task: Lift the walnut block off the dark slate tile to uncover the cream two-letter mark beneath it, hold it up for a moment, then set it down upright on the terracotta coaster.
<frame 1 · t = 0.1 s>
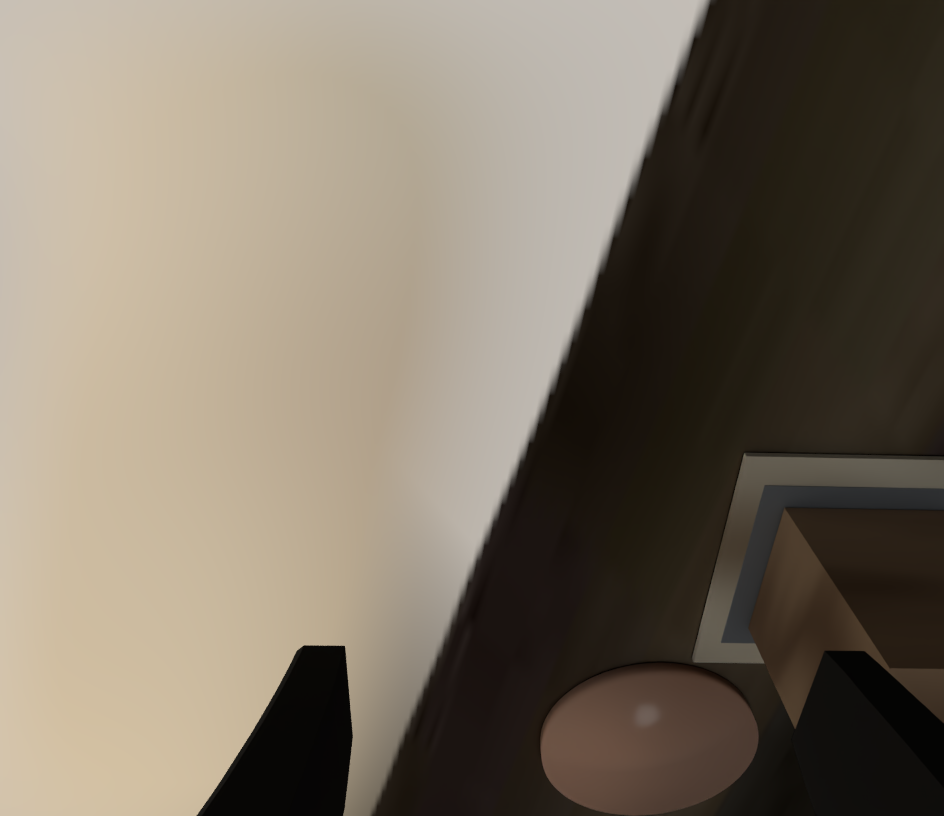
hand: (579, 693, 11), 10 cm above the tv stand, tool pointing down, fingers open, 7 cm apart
walnut block: (842, 572, 23), resting on code board
coaster: (645, 736, 27), on the tv stand
code board: (838, 566, 23), on the tv stand
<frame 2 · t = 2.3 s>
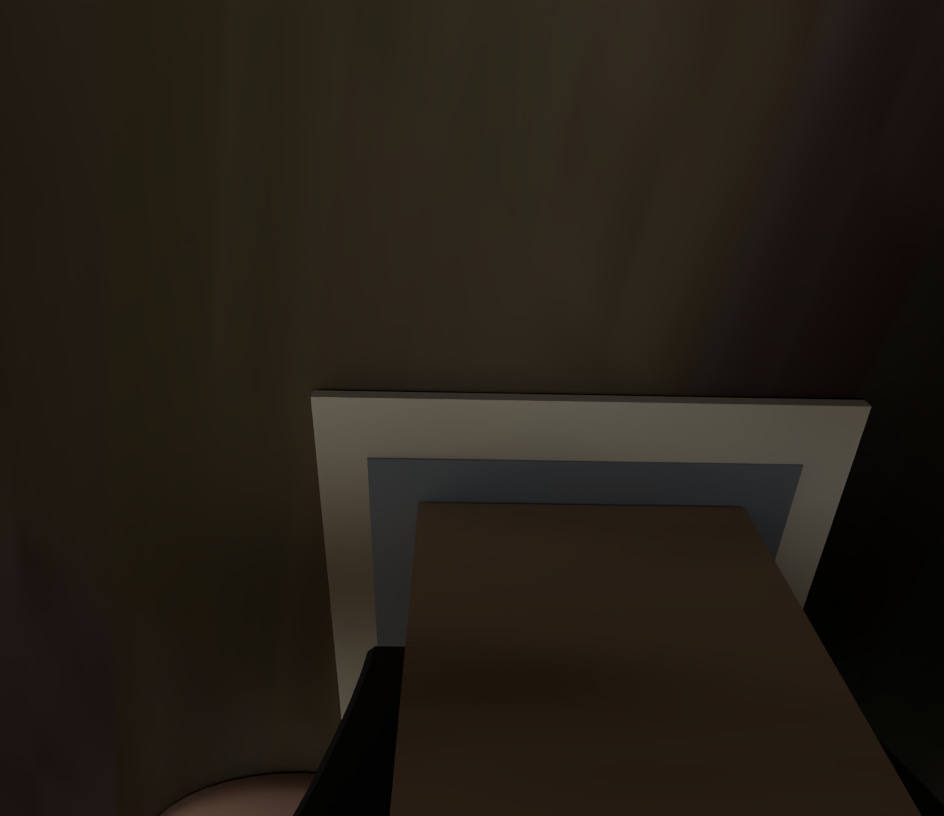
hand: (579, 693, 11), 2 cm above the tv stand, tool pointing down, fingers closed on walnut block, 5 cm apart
walnut block: (567, 624, 12), resting on code board, touching gripper
code board: (565, 611, 12), on the tv stand
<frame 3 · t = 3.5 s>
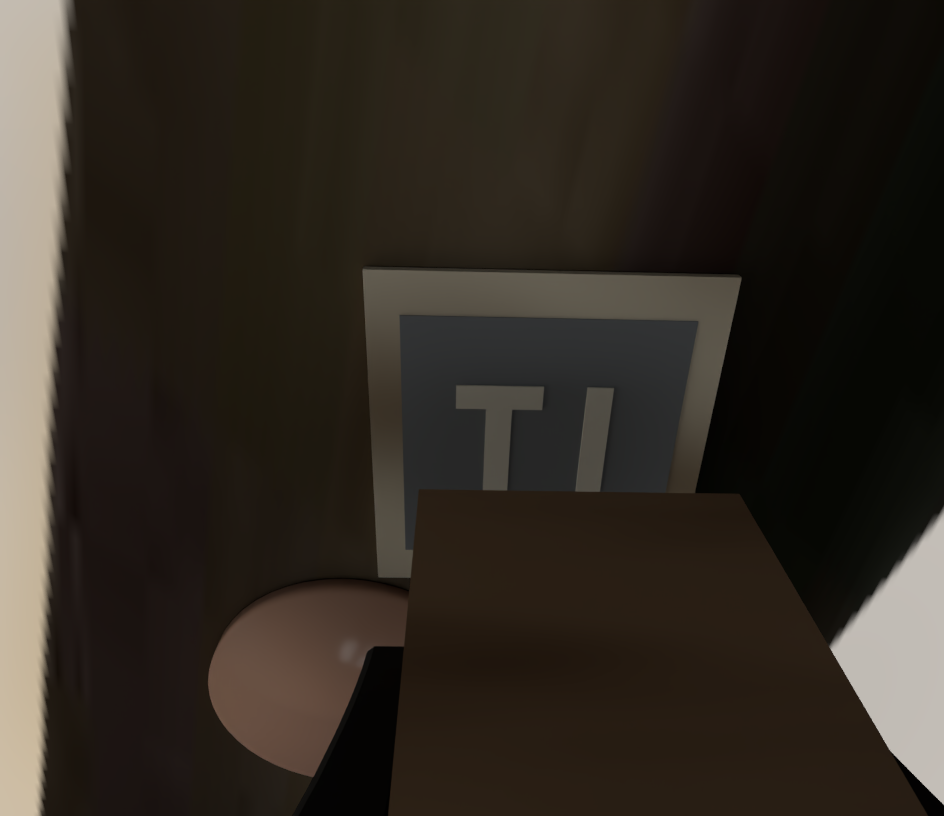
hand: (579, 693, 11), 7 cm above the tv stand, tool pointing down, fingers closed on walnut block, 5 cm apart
walnut block: (565, 610, 12), point 6 cm above the tv stand, touching gripper
coaster: (350, 680, 21), on the tv stand
code board: (538, 440, 17), on the tv stand
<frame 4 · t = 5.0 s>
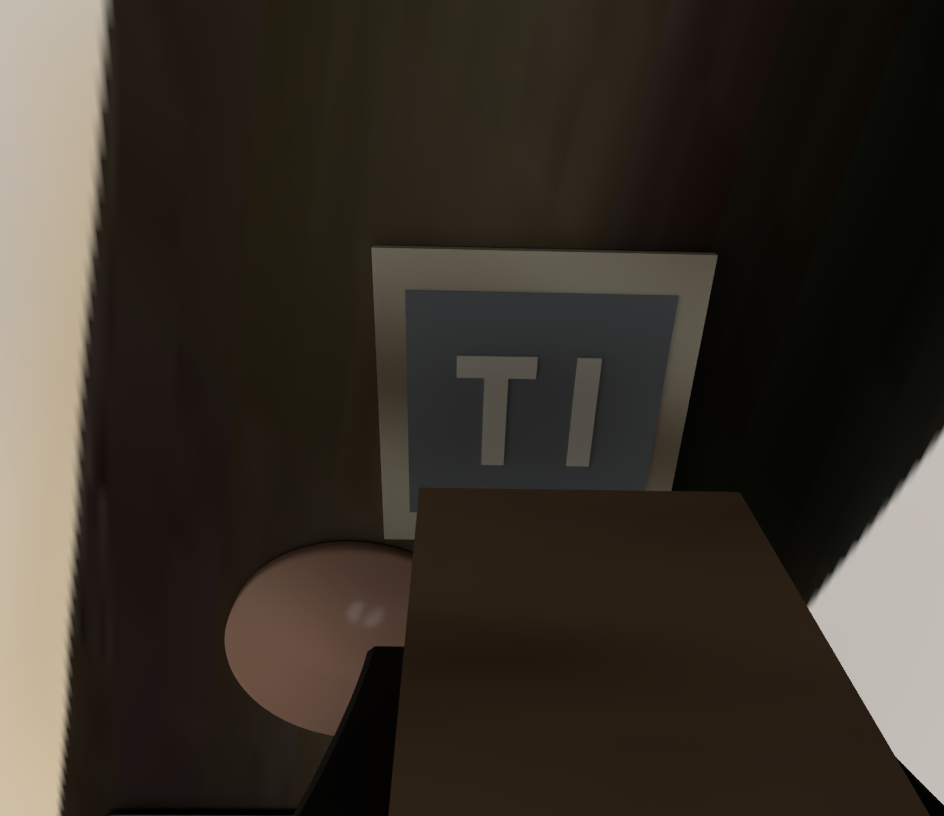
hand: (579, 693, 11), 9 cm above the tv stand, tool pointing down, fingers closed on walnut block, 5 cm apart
walnut block: (565, 609, 12), point 7 cm above the tv stand, touching gripper
coaster: (357, 639, 23), on the tv stand
code board: (532, 408, 19), on the tv stand
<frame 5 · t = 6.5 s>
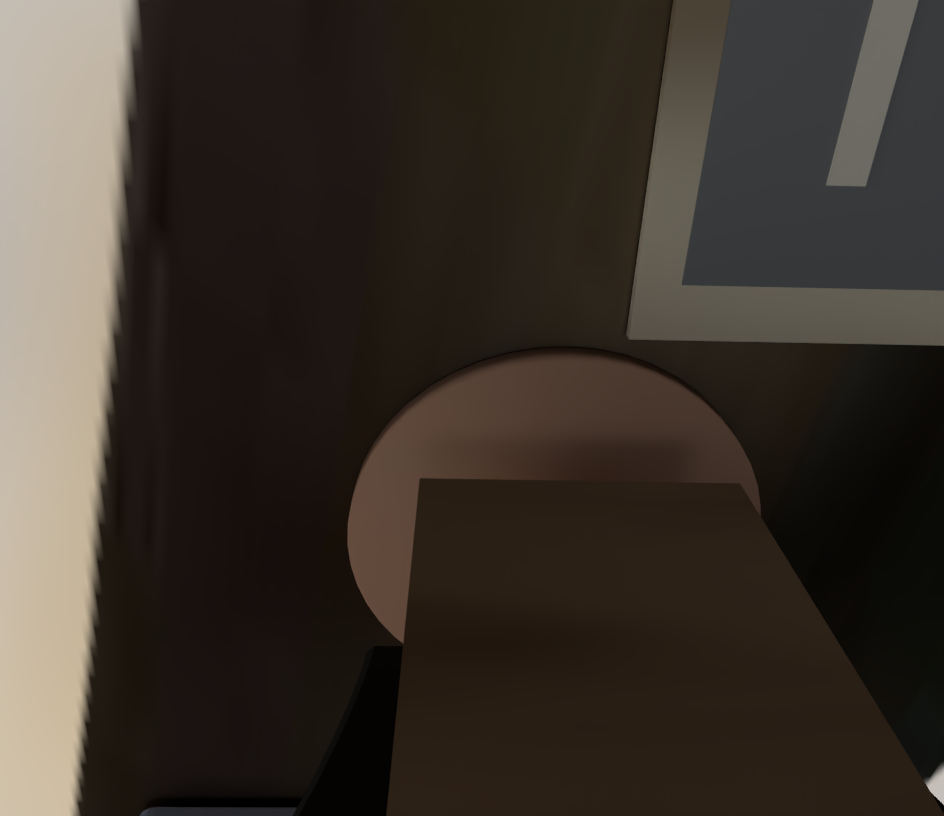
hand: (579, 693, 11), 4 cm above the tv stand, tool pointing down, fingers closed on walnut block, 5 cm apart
walnut block: (566, 602, 12), point 2 cm above the tv stand, touching gripper
coaster: (549, 528, 14), on the tv stand
code board: (935, 71, 10), on the tv stand
when the fingers open (3 cm above the tv stand, at t = 7.6 s): walnut block drops 1 cm, resting on coaster.
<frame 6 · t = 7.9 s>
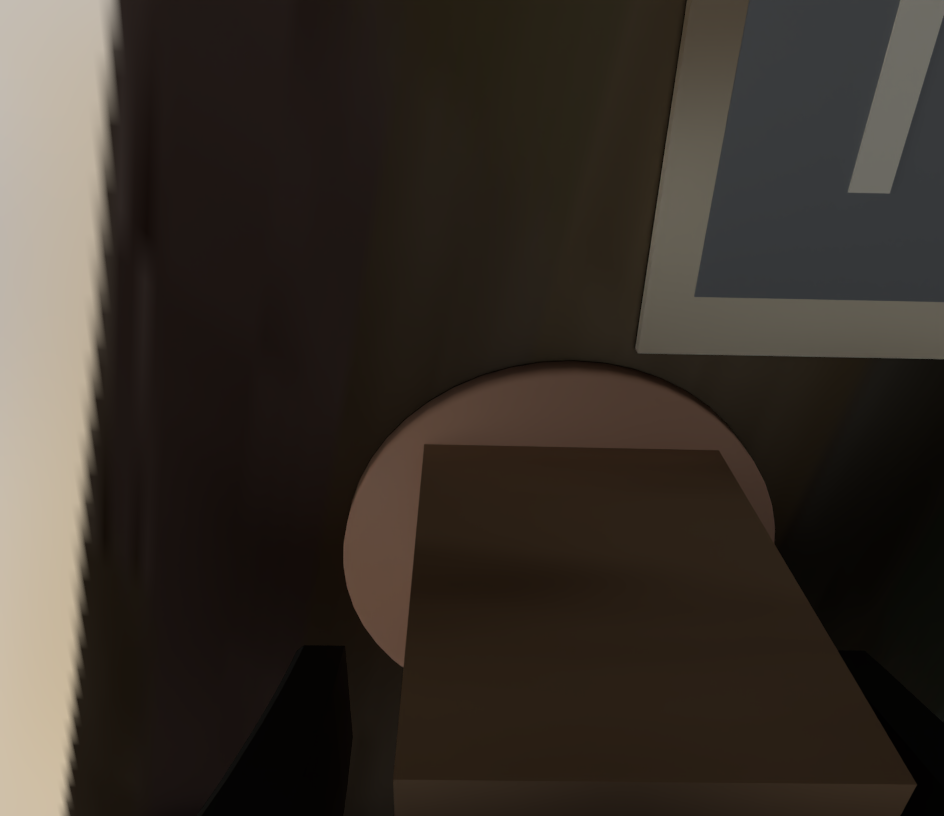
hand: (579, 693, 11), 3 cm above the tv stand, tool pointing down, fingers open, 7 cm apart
walnut block: (558, 561, 13), point 1 cm above the tv stand, touching coaster
coaster: (554, 547, 14), on the tv stand
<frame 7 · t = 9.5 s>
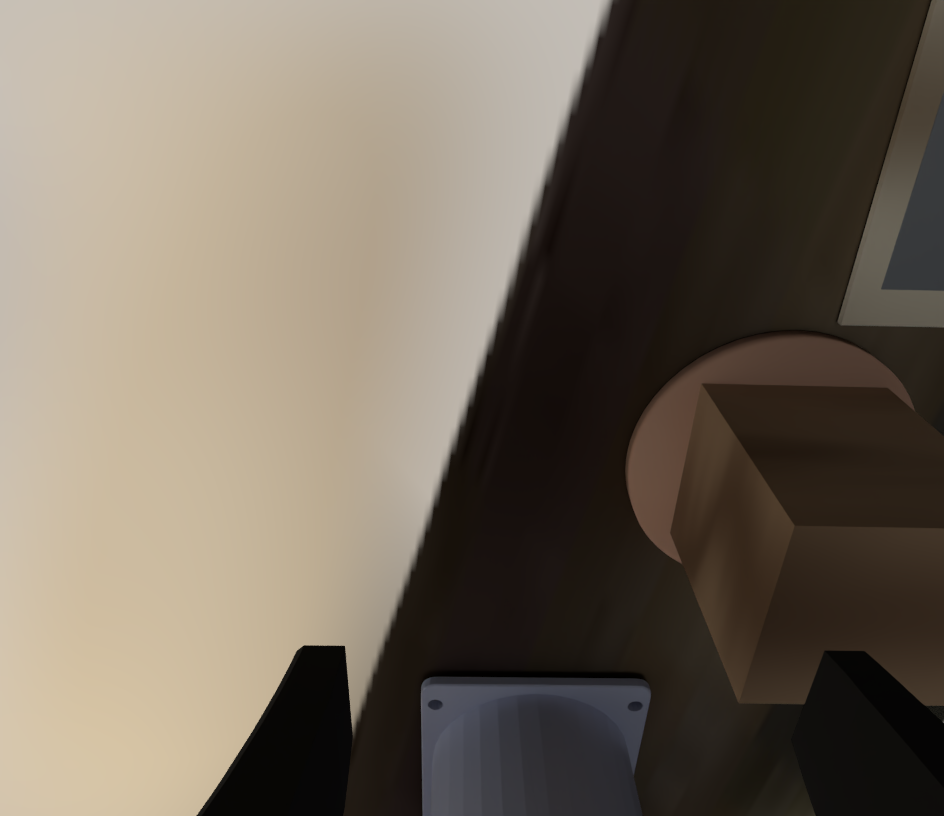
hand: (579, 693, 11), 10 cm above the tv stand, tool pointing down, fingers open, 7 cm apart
walnut block: (772, 464, 20), point 1 cm above the tv stand, touching coaster
coaster: (763, 458, 21), on the tv stand
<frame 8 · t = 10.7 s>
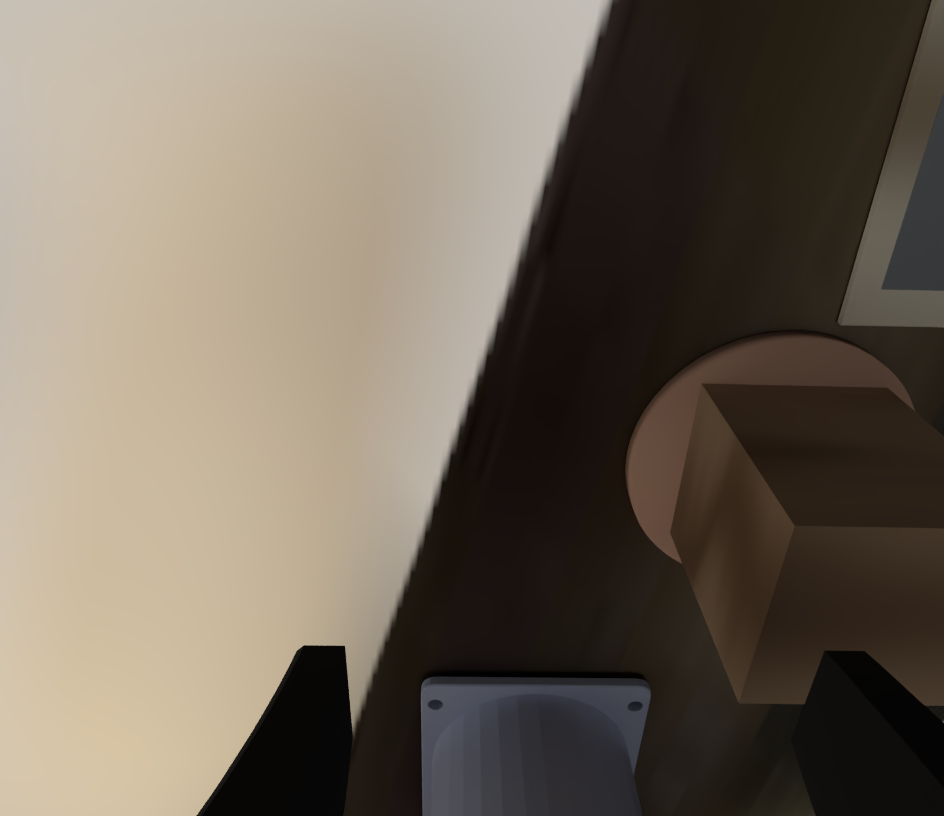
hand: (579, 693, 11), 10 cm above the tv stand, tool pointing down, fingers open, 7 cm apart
walnut block: (772, 464, 20), point 1 cm above the tv stand, touching coaster
coaster: (763, 458, 21), on the tv stand
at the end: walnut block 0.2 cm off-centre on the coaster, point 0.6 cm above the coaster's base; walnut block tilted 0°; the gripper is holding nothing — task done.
